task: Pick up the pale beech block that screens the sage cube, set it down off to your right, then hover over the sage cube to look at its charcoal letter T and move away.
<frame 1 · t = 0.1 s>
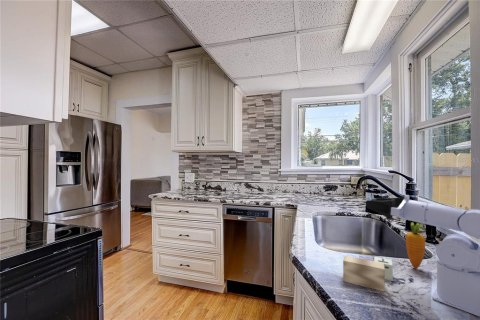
hand: (371, 202, 69), 22 cm above the worktop, tool horizontal, fingers open, 7 cm apart
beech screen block: (363, 283, 63), on the worktop
lettered cube: (383, 275, 67), on the worktop
carrot: (415, 269, 71), on the worktop
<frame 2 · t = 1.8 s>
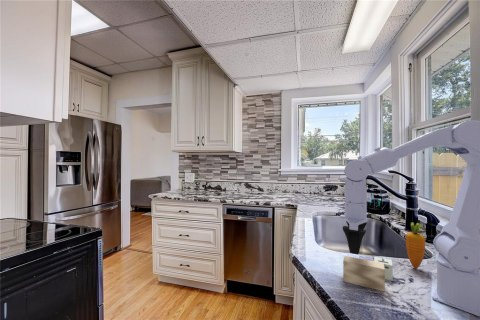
hand: (355, 248, 64), 9 cm above the worktop, tool pointing down, fingers open, 7 cm apart
nothing on the worktop moved.
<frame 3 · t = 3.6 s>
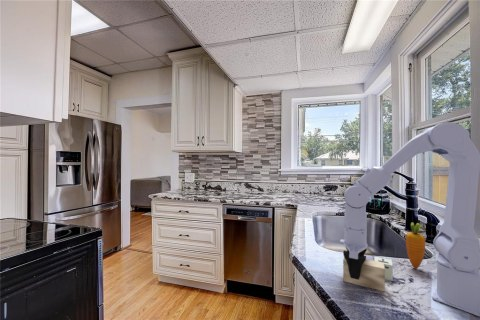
hand: (355, 274, 64), 2 cm above the worktop, tool pointing down, fingers closed on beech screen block, 4 cm apart
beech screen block: (363, 282, 63), on the worktop, touching gripper
everything else where it was.
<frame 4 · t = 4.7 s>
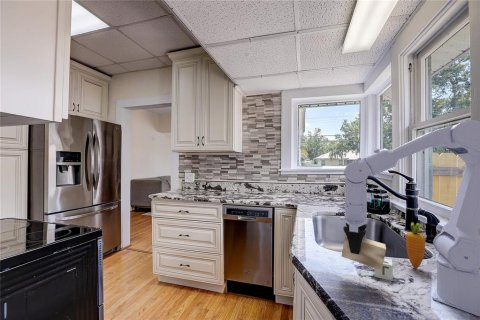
hand: (355, 250, 64), 9 cm above the worktop, tool pointing down, fingers closed on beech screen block, 4 cm apart
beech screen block: (361, 260, 63), point 6 cm above the worktop, tilted 9°, touching gripper
everything else where it was.
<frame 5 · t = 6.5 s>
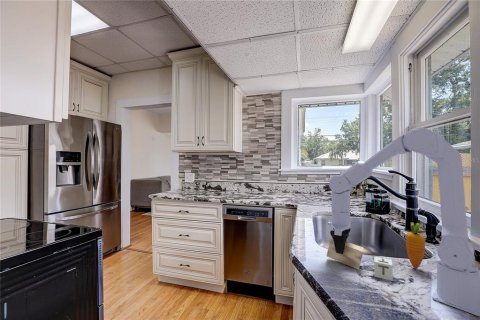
hand: (340, 250, 75), 4 cm above the worktop, tool pointing down, fingers closed on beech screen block, 4 cm apart
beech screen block: (342, 260, 74), point 1 cm above the worktop, tilted 12°, touching gripper
everything else where it was.
when the fingers open (3 cm above the worktop, at t = 7.5 s): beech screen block stays where it is, on the worktop.
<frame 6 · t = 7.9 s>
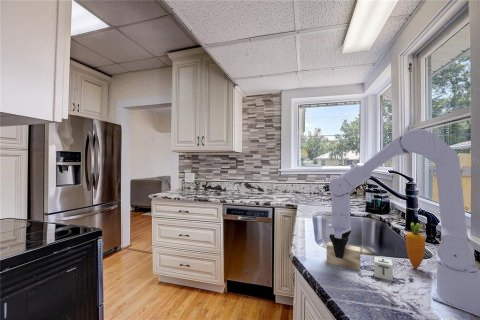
hand: (340, 253, 75), 3 cm above the worktop, tool pointing down, fingers open, 7 cm apart
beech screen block: (343, 264, 74), on the worktop
everything else where it was.
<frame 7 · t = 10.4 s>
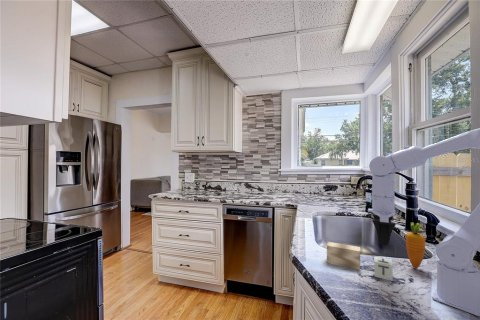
hand: (383, 240, 67), 10 cm above the worktop, tool pointing down, fingers open, 7 cm apart
nothing on the worktop moved.
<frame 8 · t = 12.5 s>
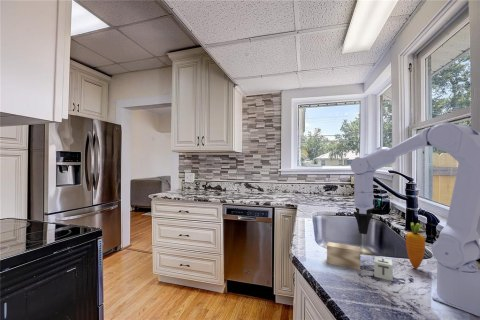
hand: (363, 230, 77), 10 cm above the worktop, tool pointing down, fingers open, 7 cm apart
nothing on the worktop moved.
at the end: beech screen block 1.0 cm from the target spot, on the worktop; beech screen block tilted 0°; lettered cube moved 0.1 cm from its start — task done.
